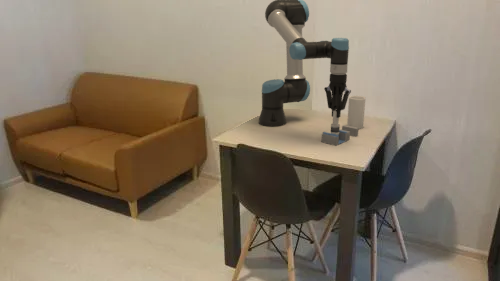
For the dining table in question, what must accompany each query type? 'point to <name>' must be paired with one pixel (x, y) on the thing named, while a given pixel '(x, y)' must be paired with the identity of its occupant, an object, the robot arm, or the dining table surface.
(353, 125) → the cup
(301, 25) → the robot arm
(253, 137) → the dining table surface
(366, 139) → the dining table surface
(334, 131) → the plug
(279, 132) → the dining table surface
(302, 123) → the dining table surface
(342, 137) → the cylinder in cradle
